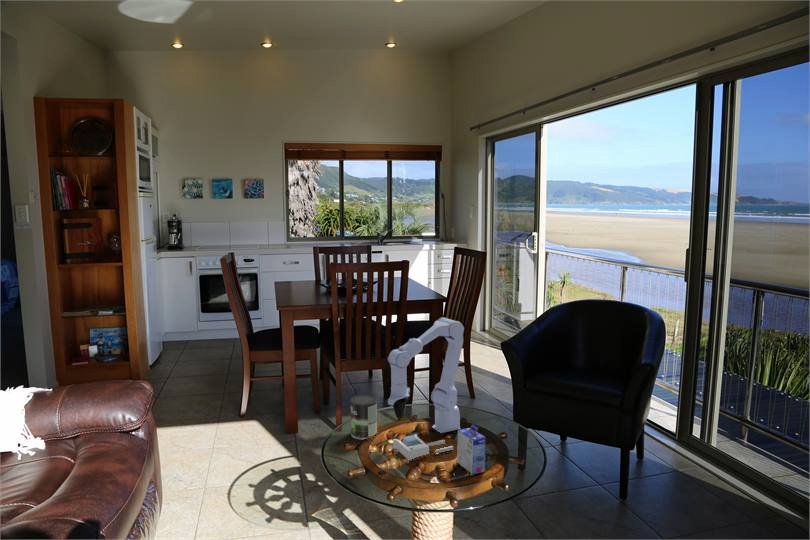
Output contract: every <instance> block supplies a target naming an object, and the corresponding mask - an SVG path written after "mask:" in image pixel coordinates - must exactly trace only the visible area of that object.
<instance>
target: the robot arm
mask: <svg viewBox="0 0 810 540" xmlns="http://www.w3.org/2000/svg"><path fill="white" fill-rule="evenodd" d="M464 332H465V327H464V325H463V324H462V322H461V321H459V320H454V319H451V318H447V317H440V318H438V319H437V320H435V321H434V323H433V325H432V326H431V327H430V328H429V329H427V330H426V331H425V332H424V333H422V334H421V335H420V336H419V337H418V338H415V337H413V338H409V339H408V341H407V342H406V343H404V344H403V345H400V346H399V348H396V349H392V350H391V351H390V353H389V355H388V356H387V362H388V363H389V364H390V372H391V374H390V376H391V378H390V379H391V380H390V381H391V384H390V385H391V388H390V389H391V393H390V396H389V398H388V399H387V405H389V406H392V408H393V410H394V415H395V417H396V418H399V419H402V418H403V417H404V414H405V413H404V412H405V408H406V405H407V403H408V402H409V397H410V393H411V388H410V387H408V380H407V379H408V377H407V376H408V375H407V367H408V366H409V364H410V362H411V360H412V358H414V357H416V355H419V353H421V352H422V351H423V349H424V348H423V347H424V346H425V345H427V344H428V343H430V342H432V341H433V340H435V339H436V338H438V337H444V338H445V339H446V341H447V342H448V344H447V349H446V353H445V358H444V363H443V368H442V372H441V376H440V381H439V382H438V383H436V384H435V385H434V388H433V390H432V392H431V395H430V398H431V401H432V402H433V406H434V424H432V425H433V426H432V427H431V428H433V430H435V431H436V432H438V433H439V432H440V433H439V434H443V433H447V432H448V433H449V432H452V431H456V430H457V431H458V430H461V426H460V425H461V412H460V409H459V407H458V406H457V403H458V390H457V388H456V387H455V383H456V382H455V381H456V377H457V371H458V367H459V362H460V358H461V354H462V351H463V350H462V349H463V343H464Z"/></svg>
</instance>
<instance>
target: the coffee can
mask: <svg viewBox="0 0 810 540" xmlns="http://www.w3.org/2000/svg"><path fill="white" fill-rule="evenodd" d="M349 402H350V433H351V434H350V435H351V438H354V439H356V440H360V441H361V440H362V441H363V440H364V439H367V438H370V437H372V436H374V435H375V434H376V433H377V434H378V415H377V414H378V413H377V412H378V407H377V405H378V404H377V402H378V398H377V397H375V396H373V395H371V394H370V395H369V394H361V395H360V394H359V395H355V396H352V397H351V398H350V400H349ZM367 440H368V439H367Z"/></svg>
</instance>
